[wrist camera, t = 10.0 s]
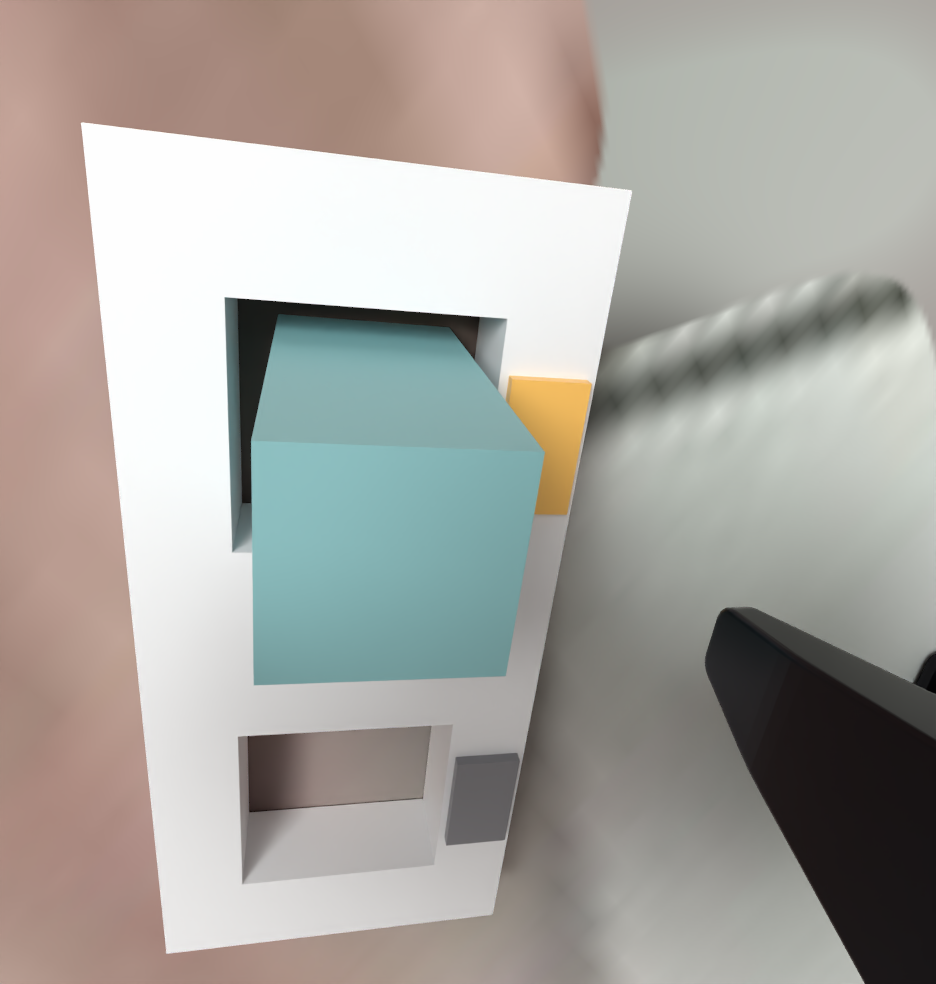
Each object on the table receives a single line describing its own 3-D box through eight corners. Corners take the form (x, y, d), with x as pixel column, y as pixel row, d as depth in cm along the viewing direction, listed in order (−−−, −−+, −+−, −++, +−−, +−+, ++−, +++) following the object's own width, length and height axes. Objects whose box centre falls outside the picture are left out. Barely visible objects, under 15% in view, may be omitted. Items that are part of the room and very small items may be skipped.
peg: (449, 327, 17) (544, 452, 10) (433, 477, 19) (505, 676, 12) (278, 313, 16) (250, 440, 9) (277, 473, 18) (253, 685, 11)
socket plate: (588, 185, 16) (638, 191, 14) (476, 847, 25) (494, 923, 23) (117, 126, 14) (75, 121, 12) (180, 876, 23) (165, 964, 21)
